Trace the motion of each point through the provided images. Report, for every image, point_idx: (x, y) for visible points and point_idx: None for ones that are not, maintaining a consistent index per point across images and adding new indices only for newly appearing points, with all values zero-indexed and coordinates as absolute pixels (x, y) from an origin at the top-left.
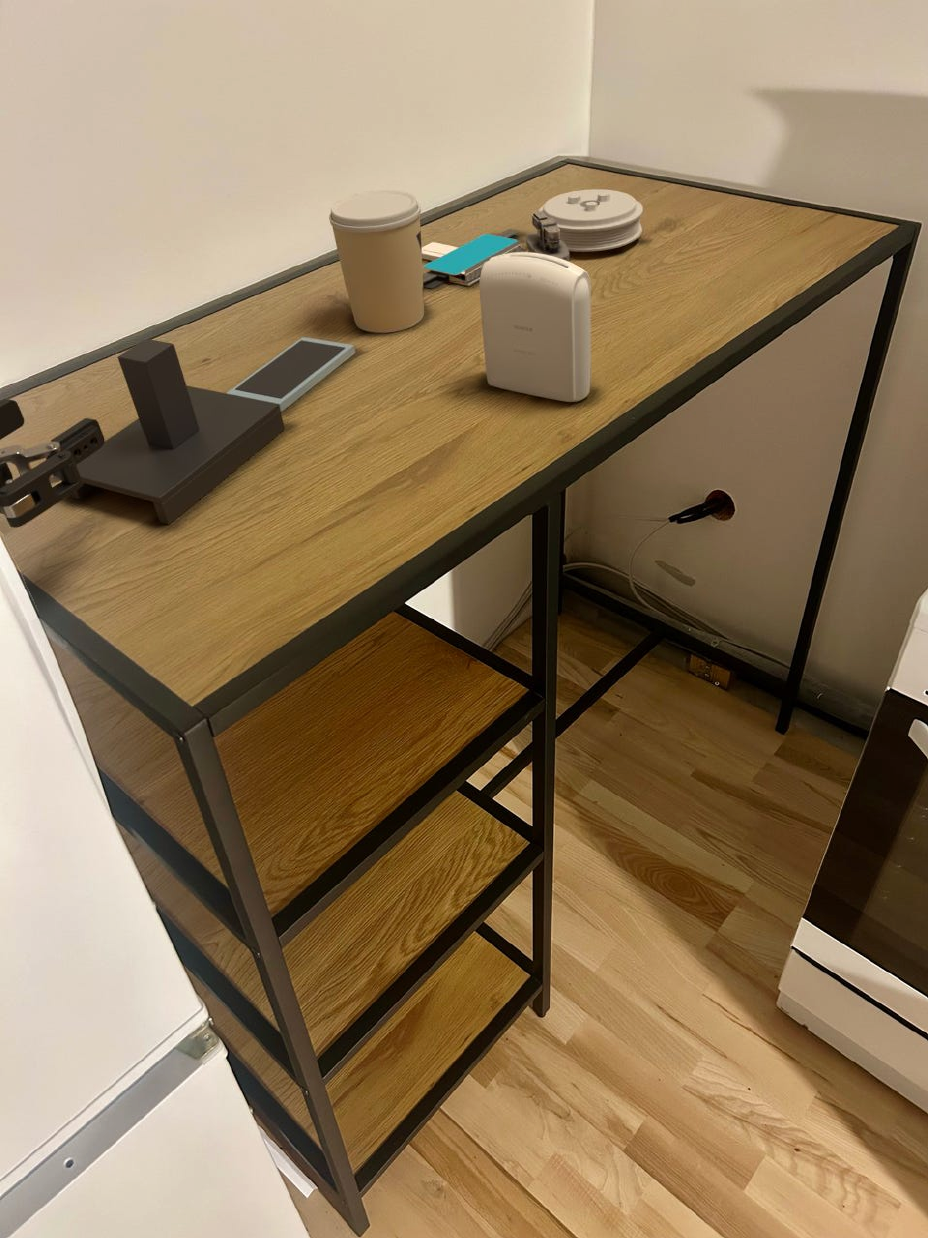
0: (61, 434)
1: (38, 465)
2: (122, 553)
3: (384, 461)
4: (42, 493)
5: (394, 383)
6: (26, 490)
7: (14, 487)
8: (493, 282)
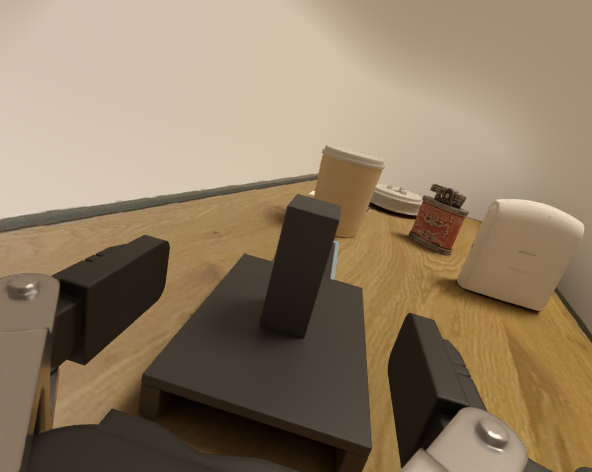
0: (435, 369)
1: None
2: None
3: (487, 361)
4: None
5: (394, 277)
6: None
7: None
8: (514, 216)
